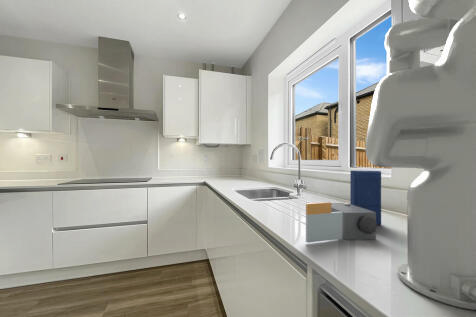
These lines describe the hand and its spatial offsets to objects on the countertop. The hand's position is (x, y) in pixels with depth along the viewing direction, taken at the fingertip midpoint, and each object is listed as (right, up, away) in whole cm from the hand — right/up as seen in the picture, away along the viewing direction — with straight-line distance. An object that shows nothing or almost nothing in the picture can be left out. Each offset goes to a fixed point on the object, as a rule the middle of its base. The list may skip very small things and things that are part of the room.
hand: (402, 142), depth 59 cm
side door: (-23, -28, -1) cm, 37 cm away
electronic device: (0, -30, +18) cm, 34 cm away
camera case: (-12, -29, +9) cm, 33 cm away
